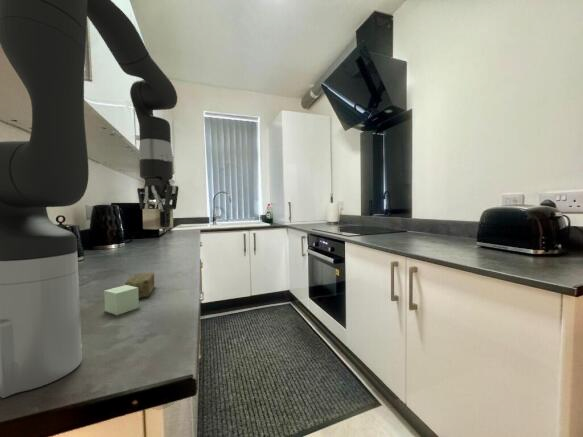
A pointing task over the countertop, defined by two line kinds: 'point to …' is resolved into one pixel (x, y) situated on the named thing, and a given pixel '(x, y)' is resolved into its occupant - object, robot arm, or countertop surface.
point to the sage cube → (121, 299)
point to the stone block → (142, 283)
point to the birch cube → (154, 219)
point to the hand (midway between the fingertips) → (158, 226)
